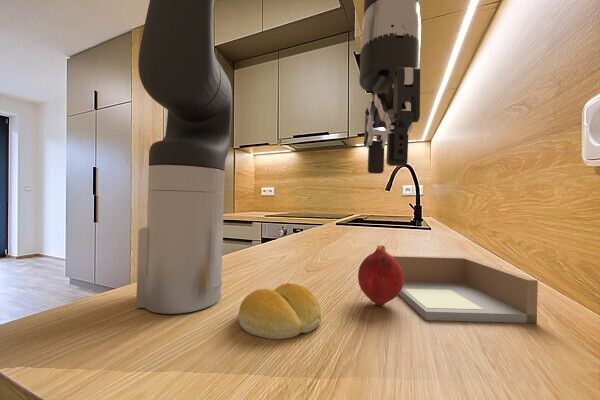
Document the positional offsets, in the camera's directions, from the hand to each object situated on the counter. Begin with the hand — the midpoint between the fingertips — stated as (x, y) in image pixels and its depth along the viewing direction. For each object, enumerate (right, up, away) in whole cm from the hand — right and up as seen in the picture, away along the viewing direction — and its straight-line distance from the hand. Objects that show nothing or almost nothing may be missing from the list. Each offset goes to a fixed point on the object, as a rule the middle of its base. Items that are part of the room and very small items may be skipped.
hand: (384, 170), depth 35 cm
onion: (-1, -18, 0) cm, 18 cm away
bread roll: (-13, -18, -5) cm, 23 cm away
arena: (+10, -18, +2) cm, 21 cm away
